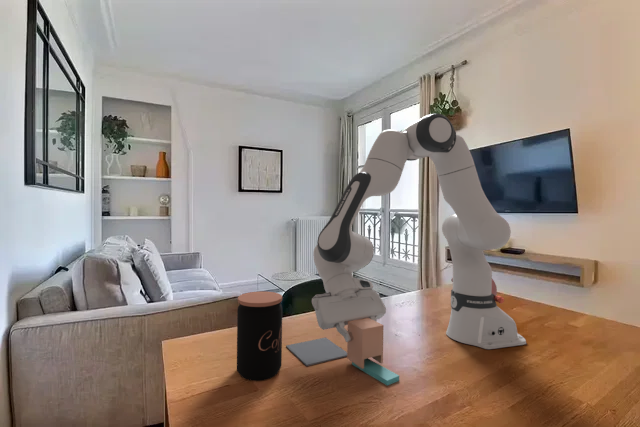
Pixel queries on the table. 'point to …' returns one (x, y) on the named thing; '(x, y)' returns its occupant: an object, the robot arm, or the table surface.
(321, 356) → the pad
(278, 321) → the coffee jar
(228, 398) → the table surface
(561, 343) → the table surface
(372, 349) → the cover
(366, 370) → the stick
